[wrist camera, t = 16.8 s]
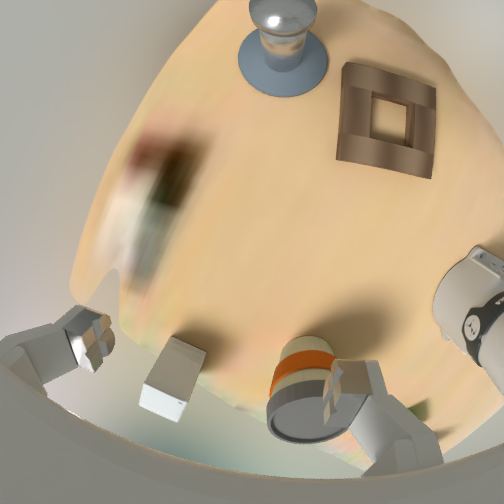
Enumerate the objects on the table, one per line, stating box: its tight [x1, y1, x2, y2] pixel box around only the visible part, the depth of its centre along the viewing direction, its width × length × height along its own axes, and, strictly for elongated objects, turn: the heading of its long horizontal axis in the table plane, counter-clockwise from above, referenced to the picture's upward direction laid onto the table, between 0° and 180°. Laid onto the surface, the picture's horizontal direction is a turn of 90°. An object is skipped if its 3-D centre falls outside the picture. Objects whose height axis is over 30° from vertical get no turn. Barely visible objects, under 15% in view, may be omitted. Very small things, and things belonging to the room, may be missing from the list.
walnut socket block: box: [336, 62, 436, 179], centre depth 30 cm, size 14×14×3 cm
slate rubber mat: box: [238, 29, 327, 97], centre depth 30 cm, size 12×12×1 cm
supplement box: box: [139, 336, 207, 422], centre depth 41 cm, size 7×7×13 cm
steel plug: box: [249, 0, 317, 72], centre depth 23 cm, size 6×6×14 cm
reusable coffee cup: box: [267, 336, 348, 444], centre depth 38 cm, size 13×13×15 cm
